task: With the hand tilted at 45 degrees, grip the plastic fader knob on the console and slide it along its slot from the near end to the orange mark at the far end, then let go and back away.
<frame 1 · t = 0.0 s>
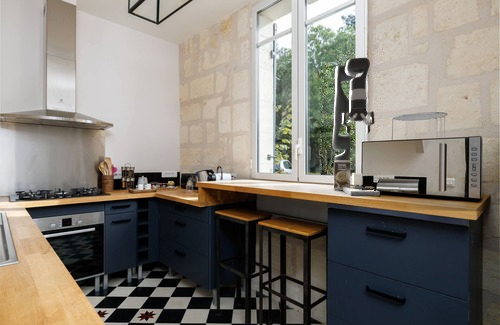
hand: (358, 134, 132), 29 cm above the countertop, tool pointing down, fingers open, 8 cm apart
fader console: (359, 193, 142), on the countertop
coffee box: (341, 190, 160), on the countertop
fader knob: (357, 180, 148), point 6 cm above the countertop, slide at -6.0 cm
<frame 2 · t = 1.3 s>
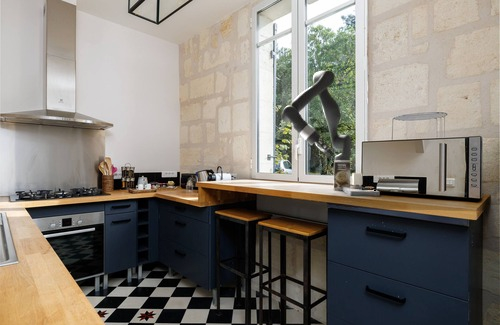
hand: (331, 155, 150), 20 cm above the countertop, tool tilted 45°, fingers open, 8 cm apart
nothing on the countertop moved.
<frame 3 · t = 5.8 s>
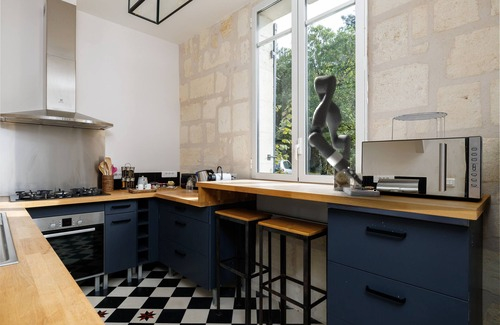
hand: (361, 183, 147), 4 cm above the countertop, tool tilted 45°, fingers closed on fader knob, 3 cm apart
fader knob: (357, 180, 148), point 6 cm above the countertop, slide at -6.0 cm, touching gripper
everything else where it was.
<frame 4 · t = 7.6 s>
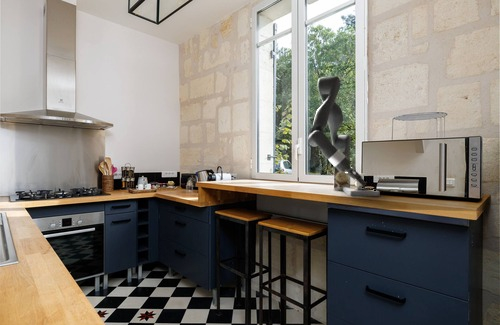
hand: (364, 184, 140), 4 cm above the countertop, tool tilted 45°, fingers closed on fader knob, 3 cm apart
fader knob: (360, 181, 141), point 6 cm above the countertop, slide at 1.1 cm, touching gripper
everything else where it was.
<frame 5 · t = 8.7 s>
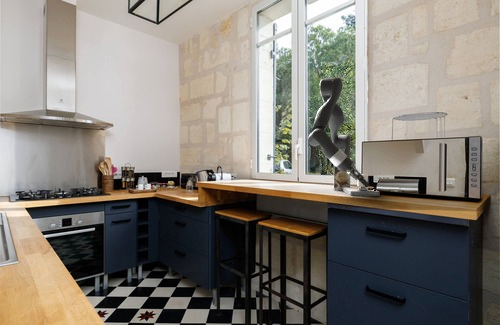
hand: (366, 185, 136), 4 cm above the countertop, tool tilted 45°, fingers closed on fader knob, 3 cm apart
fader knob: (362, 181, 136), point 6 cm above the countertop, slide at 5.8 cm, touching gripper
everything else where it was.
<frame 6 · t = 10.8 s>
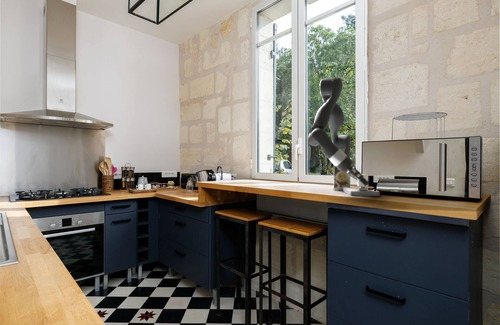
hand: (365, 183, 136), 5 cm above the countertop, tool tilted 45°, fingers open, 8 cm apart
fader knob: (362, 182, 136), point 6 cm above the countertop, slide at 6.0 cm
everything else where it was.
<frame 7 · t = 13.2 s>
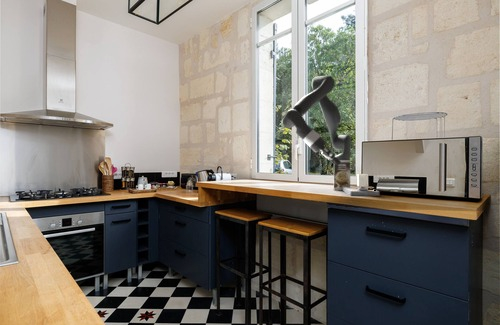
hand: (338, 163, 138), 15 cm above the countertop, tool tilted 45°, fingers open, 8 cm apart
nothing on the countertop moved.
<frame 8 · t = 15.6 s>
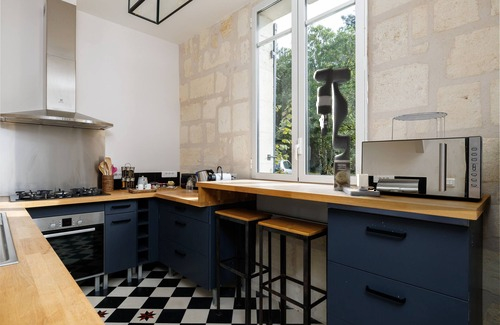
hand: (324, 135, 149), 30 cm above the countertop, tool pointing down, fingers open, 8 cm apart
nothing on the countertop moved.
at the end: fader knob slide at 6.0 cm; the gripper is holding nothing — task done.
